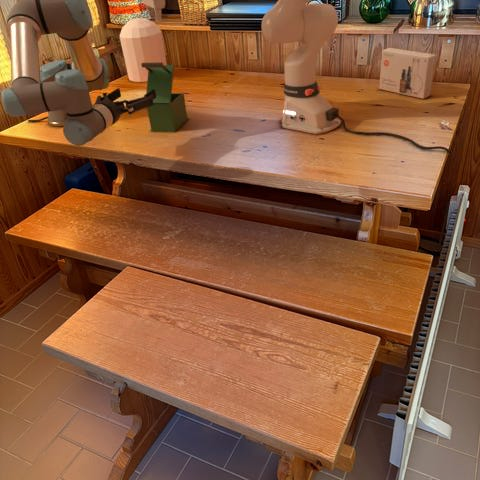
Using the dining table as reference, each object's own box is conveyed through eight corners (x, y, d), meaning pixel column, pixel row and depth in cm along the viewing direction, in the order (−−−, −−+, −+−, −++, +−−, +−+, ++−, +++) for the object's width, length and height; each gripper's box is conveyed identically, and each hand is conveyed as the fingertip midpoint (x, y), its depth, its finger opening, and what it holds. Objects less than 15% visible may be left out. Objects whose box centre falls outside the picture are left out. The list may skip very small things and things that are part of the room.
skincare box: (377, 89, 194) (381, 50, 185) (385, 86, 197) (389, 47, 188) (423, 99, 180) (429, 56, 171) (430, 95, 183) (437, 53, 174)
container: (160, 81, 233) (149, 21, 217) (121, 82, 238) (108, 23, 222) (174, 69, 249) (165, 13, 233) (138, 70, 254) (126, 15, 238)
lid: (150, 66, 171) (139, 57, 164) (174, 65, 169) (164, 56, 161) (146, 103, 171) (135, 96, 164) (170, 103, 169) (160, 96, 161)
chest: (165, 118, 187) (160, 93, 182) (187, 118, 185) (183, 93, 179) (151, 131, 177) (146, 104, 171) (174, 131, 174) (170, 104, 169)
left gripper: (72, 125, 146) (107, 102, 162) (141, 129, 138) (171, 104, 155) (65, 102, 142) (102, 81, 158) (136, 104, 134) (168, 82, 150)
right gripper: (132, -26, 162) (140, 18, 169) (145, -22, 146) (153, 25, 154) (149, -28, 163) (157, 15, 171) (165, -25, 147) (172, 22, 155)
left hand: (136, 92), depth 156 cm, fingers open, 13 cm apart
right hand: (155, 20), depth 162 cm, fingers open, 8 cm apart
